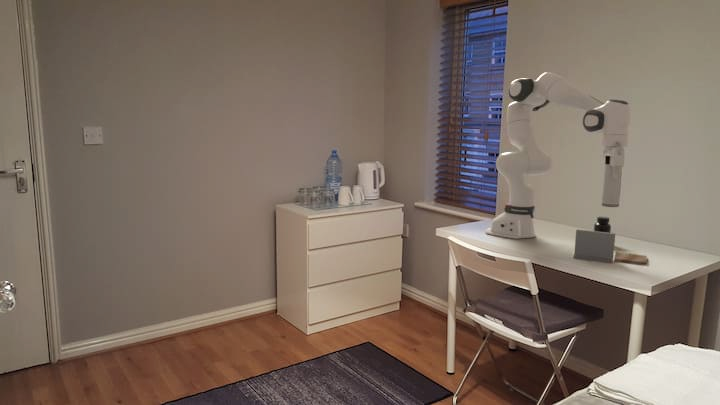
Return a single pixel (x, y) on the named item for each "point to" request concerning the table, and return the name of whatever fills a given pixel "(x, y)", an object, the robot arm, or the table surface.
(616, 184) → the travel mug
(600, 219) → the supplement bottle
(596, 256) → the slate screen
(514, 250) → the table surface
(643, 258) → the walnut pad
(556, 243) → the table surface
